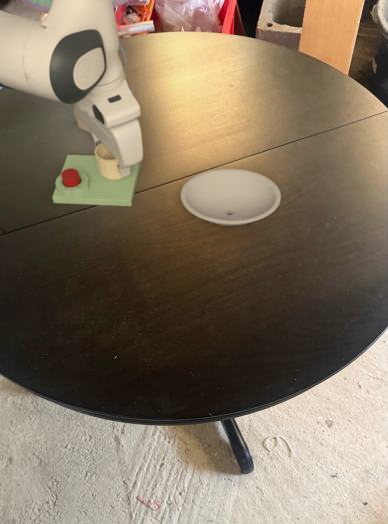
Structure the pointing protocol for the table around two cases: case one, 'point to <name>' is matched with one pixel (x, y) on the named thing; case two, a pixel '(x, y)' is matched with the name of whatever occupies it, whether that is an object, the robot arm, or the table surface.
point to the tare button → (70, 177)
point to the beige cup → (107, 163)
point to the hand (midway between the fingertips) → (112, 161)
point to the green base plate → (95, 184)
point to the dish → (230, 196)
